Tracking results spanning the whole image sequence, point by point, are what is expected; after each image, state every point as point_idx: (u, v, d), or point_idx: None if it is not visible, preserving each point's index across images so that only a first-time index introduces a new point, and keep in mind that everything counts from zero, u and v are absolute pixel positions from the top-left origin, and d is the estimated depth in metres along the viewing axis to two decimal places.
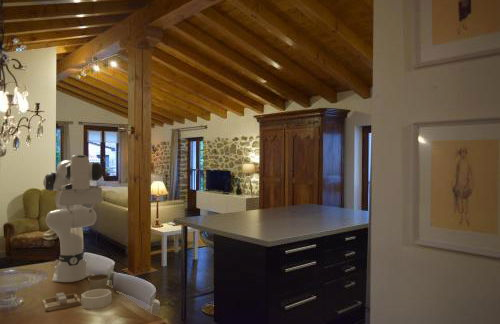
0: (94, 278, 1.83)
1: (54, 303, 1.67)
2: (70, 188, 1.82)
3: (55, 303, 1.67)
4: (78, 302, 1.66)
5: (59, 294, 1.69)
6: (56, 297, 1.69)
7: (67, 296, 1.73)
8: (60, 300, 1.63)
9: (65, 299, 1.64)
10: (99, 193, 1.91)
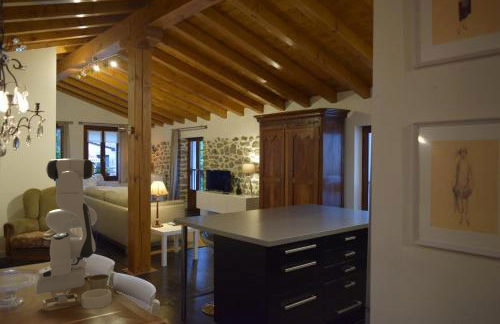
0: (94, 278, 1.83)
1: (54, 303, 1.67)
2: (48, 275, 1.64)
3: (55, 303, 1.67)
4: (78, 302, 1.66)
5: (59, 294, 1.69)
6: None
7: None
8: (60, 300, 1.63)
9: (65, 299, 1.64)
10: (82, 275, 1.73)
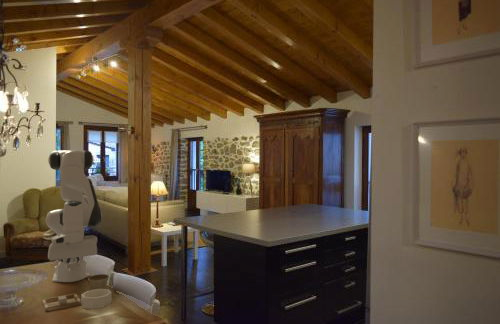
0: (94, 278, 1.83)
1: (54, 303, 1.67)
2: (61, 241, 1.63)
3: (55, 303, 1.67)
4: (78, 302, 1.66)
5: (72, 262, 1.68)
6: None
7: (67, 296, 1.73)
8: (60, 300, 1.63)
9: (65, 299, 1.64)
10: (94, 244, 1.72)
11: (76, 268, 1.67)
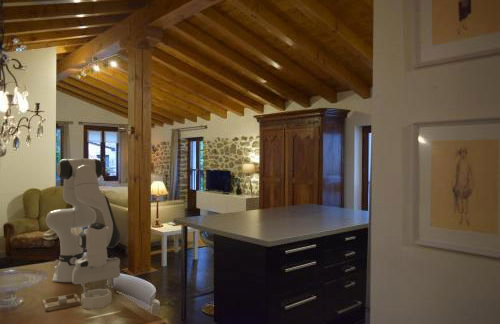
0: None
1: (54, 303, 1.67)
2: (86, 265, 1.62)
3: (55, 303, 1.67)
4: (78, 302, 1.66)
5: (95, 295, 1.67)
6: None
7: (67, 296, 1.73)
8: (60, 300, 1.63)
9: (65, 299, 1.64)
10: (117, 266, 1.71)
11: None
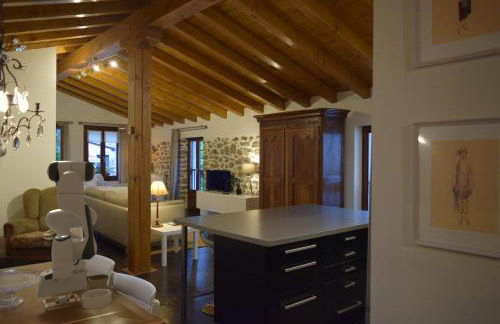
0: (94, 278, 1.83)
1: (54, 303, 1.67)
2: (50, 278, 1.60)
3: None
4: (78, 302, 1.66)
5: (95, 295, 1.67)
6: None
7: (67, 296, 1.73)
8: (60, 300, 1.63)
9: (65, 299, 1.64)
10: (84, 278, 1.69)
11: None
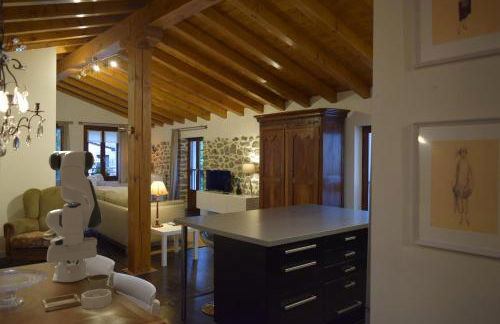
0: (94, 278, 1.83)
1: (54, 303, 1.67)
2: (60, 244, 1.60)
3: (55, 303, 1.67)
4: (78, 302, 1.66)
5: (95, 295, 1.67)
6: None
7: (67, 296, 1.73)
8: (70, 267, 1.64)
9: (75, 266, 1.65)
10: (94, 246, 1.69)
11: None
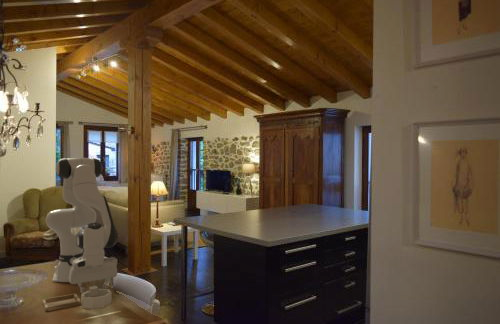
0: None
1: (54, 303, 1.67)
2: (83, 265, 1.62)
3: (55, 303, 1.67)
4: (78, 302, 1.66)
5: None
6: None
7: (67, 296, 1.73)
8: (92, 290, 1.65)
9: (97, 289, 1.67)
10: (114, 266, 1.71)
11: None
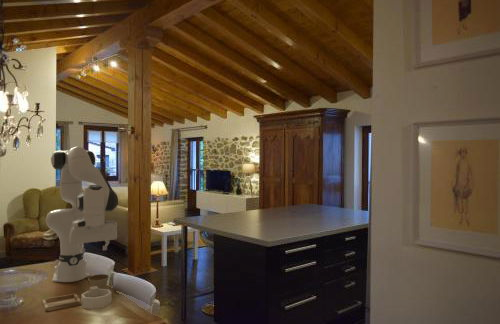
0: (94, 278, 1.83)
1: (54, 303, 1.67)
2: (83, 225, 1.62)
3: (55, 303, 1.67)
4: (78, 302, 1.66)
5: None
6: None
7: (67, 296, 1.73)
8: (92, 290, 1.65)
9: (97, 289, 1.66)
10: (115, 228, 1.72)
11: None
